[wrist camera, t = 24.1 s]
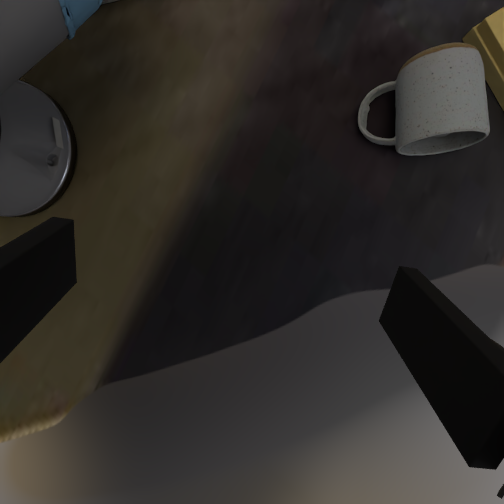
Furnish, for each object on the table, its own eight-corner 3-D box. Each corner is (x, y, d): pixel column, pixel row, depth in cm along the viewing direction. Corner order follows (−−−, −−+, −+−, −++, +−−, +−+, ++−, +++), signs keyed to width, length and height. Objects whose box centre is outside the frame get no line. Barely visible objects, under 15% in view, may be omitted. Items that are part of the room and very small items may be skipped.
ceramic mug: (457, 72, 35) (505, 27, 27) (461, 152, 35) (509, 130, 28) (353, 85, 36) (370, 45, 29) (357, 162, 37) (376, 143, 29)
